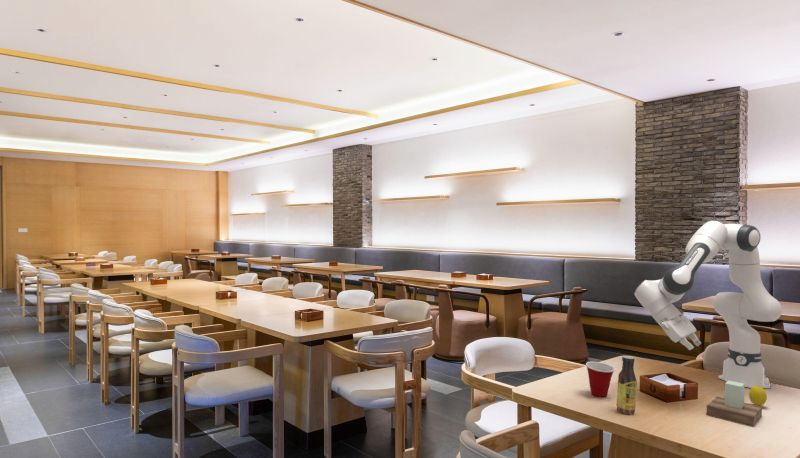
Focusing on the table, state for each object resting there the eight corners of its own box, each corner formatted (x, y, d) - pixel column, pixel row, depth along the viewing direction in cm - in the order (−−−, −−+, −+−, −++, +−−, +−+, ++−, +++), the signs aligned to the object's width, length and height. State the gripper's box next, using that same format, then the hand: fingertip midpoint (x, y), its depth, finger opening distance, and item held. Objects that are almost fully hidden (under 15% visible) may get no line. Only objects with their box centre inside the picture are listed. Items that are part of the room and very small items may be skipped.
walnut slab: (716, 406, 190) (717, 396, 190) (761, 417, 180) (762, 406, 180) (706, 416, 181) (706, 405, 180) (753, 428, 171) (753, 416, 170)
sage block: (727, 402, 184) (728, 380, 184) (744, 405, 181) (744, 383, 181) (724, 405, 181) (725, 383, 181) (741, 409, 177) (741, 386, 177)
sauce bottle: (627, 416, 177) (629, 360, 177) (612, 410, 183) (614, 356, 183) (639, 413, 180) (641, 358, 180) (624, 407, 186) (626, 354, 186)
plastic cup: (604, 402, 191) (605, 371, 191) (579, 394, 200) (580, 364, 200) (619, 397, 198) (620, 366, 197) (595, 389, 206) (595, 360, 206)
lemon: (769, 409, 187) (770, 388, 187) (752, 408, 188) (753, 387, 188) (762, 404, 193) (762, 383, 192) (745, 403, 194) (746, 382, 194)
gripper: (666, 315, 187) (694, 346, 180) (682, 309, 201) (709, 338, 195) (652, 325, 190) (680, 356, 183) (670, 318, 205) (696, 347, 198)
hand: (695, 346), depth 189 cm, fingers open, 8 cm apart
